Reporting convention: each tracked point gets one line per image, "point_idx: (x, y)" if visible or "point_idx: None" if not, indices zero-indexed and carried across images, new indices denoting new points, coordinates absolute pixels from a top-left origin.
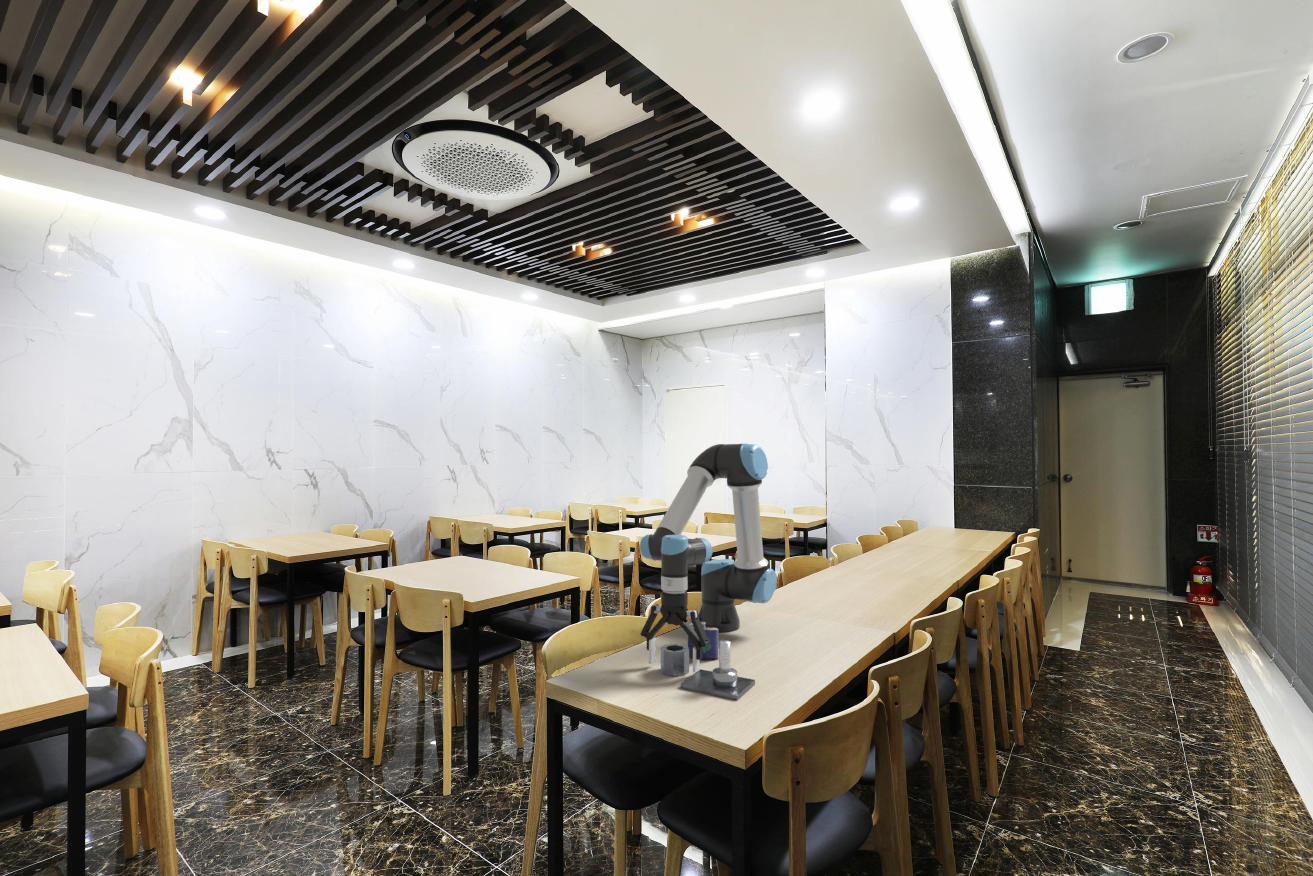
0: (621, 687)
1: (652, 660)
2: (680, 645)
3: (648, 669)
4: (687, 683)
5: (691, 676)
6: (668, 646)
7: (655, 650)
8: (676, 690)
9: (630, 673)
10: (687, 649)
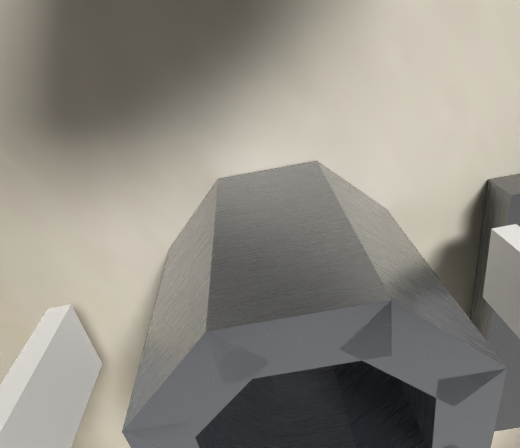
0: None
1: (86, 363)
2: (321, 352)
3: (105, 344)
4: (512, 416)
5: (495, 340)
6: (198, 443)
7: (29, 393)
8: None
9: (87, 435)
10: (497, 398)
